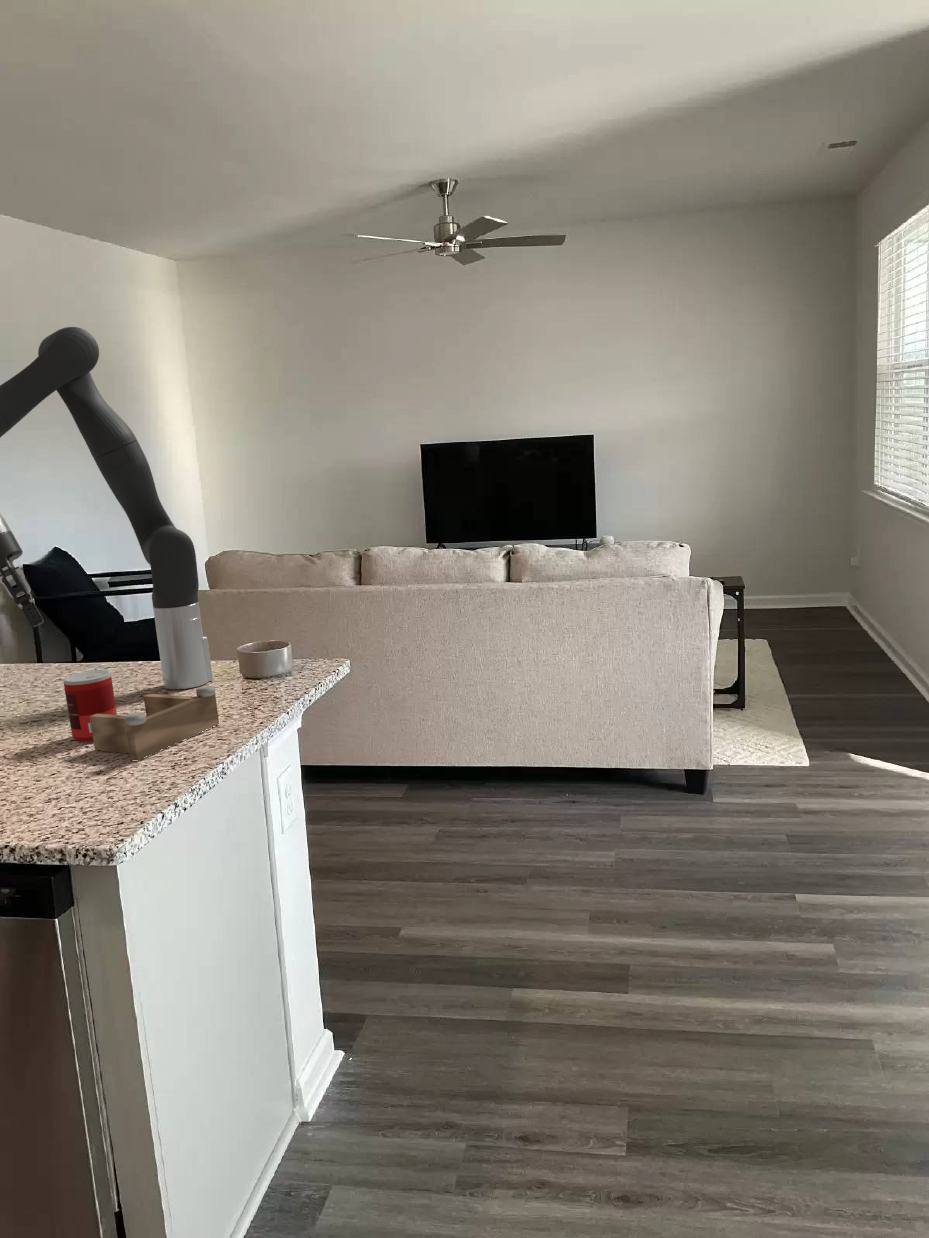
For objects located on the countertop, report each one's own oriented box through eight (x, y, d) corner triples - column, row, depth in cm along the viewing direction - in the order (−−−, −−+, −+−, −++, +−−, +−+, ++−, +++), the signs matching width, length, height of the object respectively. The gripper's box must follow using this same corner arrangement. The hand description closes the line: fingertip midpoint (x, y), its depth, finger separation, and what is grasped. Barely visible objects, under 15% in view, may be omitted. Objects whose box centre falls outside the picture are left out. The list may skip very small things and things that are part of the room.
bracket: (80, 756, 164) (74, 714, 163) (166, 721, 182) (160, 683, 181) (141, 762, 158) (135, 718, 157) (223, 725, 176) (218, 686, 175)
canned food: (128, 729, 179) (119, 670, 177) (98, 743, 171) (89, 681, 169) (93, 728, 181) (84, 669, 179) (63, 742, 174) (53, 681, 172)
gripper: (5, 524, 172) (54, 612, 174) (15, 535, 185) (61, 617, 186) (-38, 543, 170) (13, 632, 172) (-24, 553, 183) (22, 636, 184)
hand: (38, 624), depth 179 cm, fingers closed
